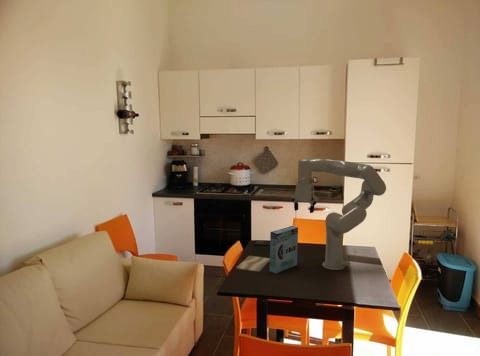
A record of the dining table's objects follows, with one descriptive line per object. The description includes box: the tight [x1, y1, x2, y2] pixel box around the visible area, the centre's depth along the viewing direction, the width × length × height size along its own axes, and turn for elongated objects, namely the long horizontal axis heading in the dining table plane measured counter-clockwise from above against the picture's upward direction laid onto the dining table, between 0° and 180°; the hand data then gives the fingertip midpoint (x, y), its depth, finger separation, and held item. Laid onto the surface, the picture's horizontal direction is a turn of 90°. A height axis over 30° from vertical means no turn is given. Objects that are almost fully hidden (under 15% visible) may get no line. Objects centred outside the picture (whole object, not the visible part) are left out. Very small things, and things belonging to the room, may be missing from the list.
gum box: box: [269, 225, 299, 274], centre depth 210 cm, size 20×5×23 cm, turn 134°
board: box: [235, 255, 270, 273], centre depth 218 cm, size 14×22×1 cm, turn 158°
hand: (303, 211), depth 207 cm, fingers open, 9 cm apart
